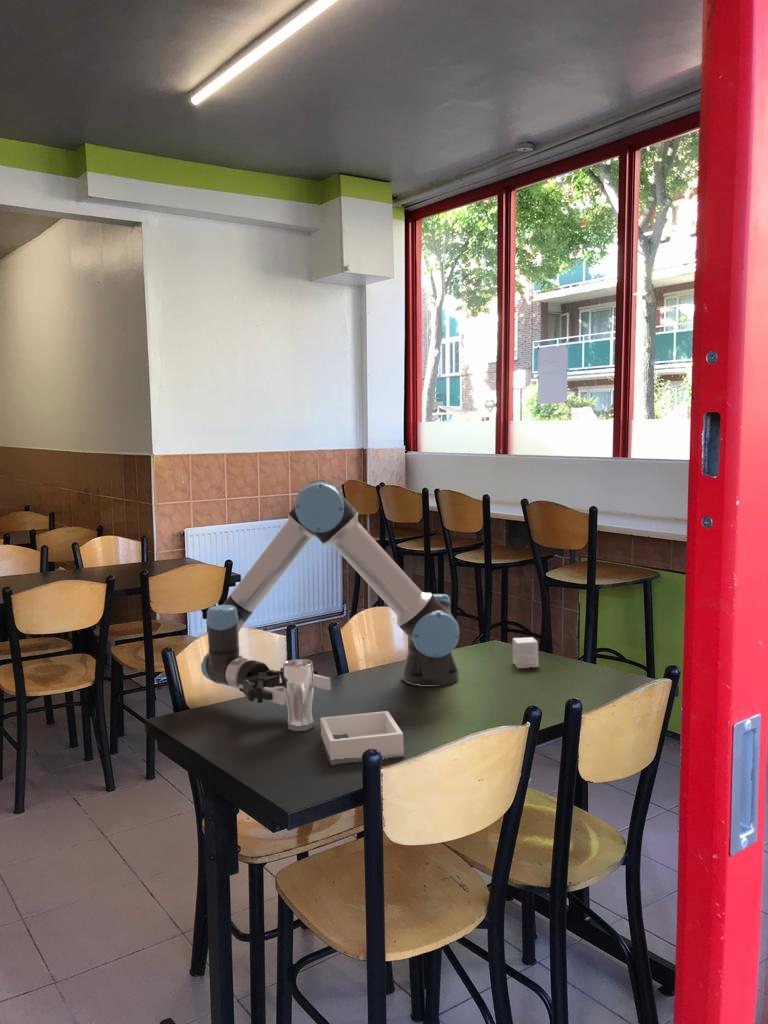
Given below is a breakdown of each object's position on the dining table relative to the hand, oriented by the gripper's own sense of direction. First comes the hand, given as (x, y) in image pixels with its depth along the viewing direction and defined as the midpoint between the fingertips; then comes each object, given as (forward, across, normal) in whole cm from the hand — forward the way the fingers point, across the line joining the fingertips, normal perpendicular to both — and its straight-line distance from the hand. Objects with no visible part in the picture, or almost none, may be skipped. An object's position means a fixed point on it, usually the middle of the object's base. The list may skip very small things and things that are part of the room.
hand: (307, 691), depth 190 cm
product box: (+8, +74, +9) cm, 75 cm away
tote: (+17, -1, +9) cm, 20 cm away
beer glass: (-3, 0, +9) cm, 10 cm away
